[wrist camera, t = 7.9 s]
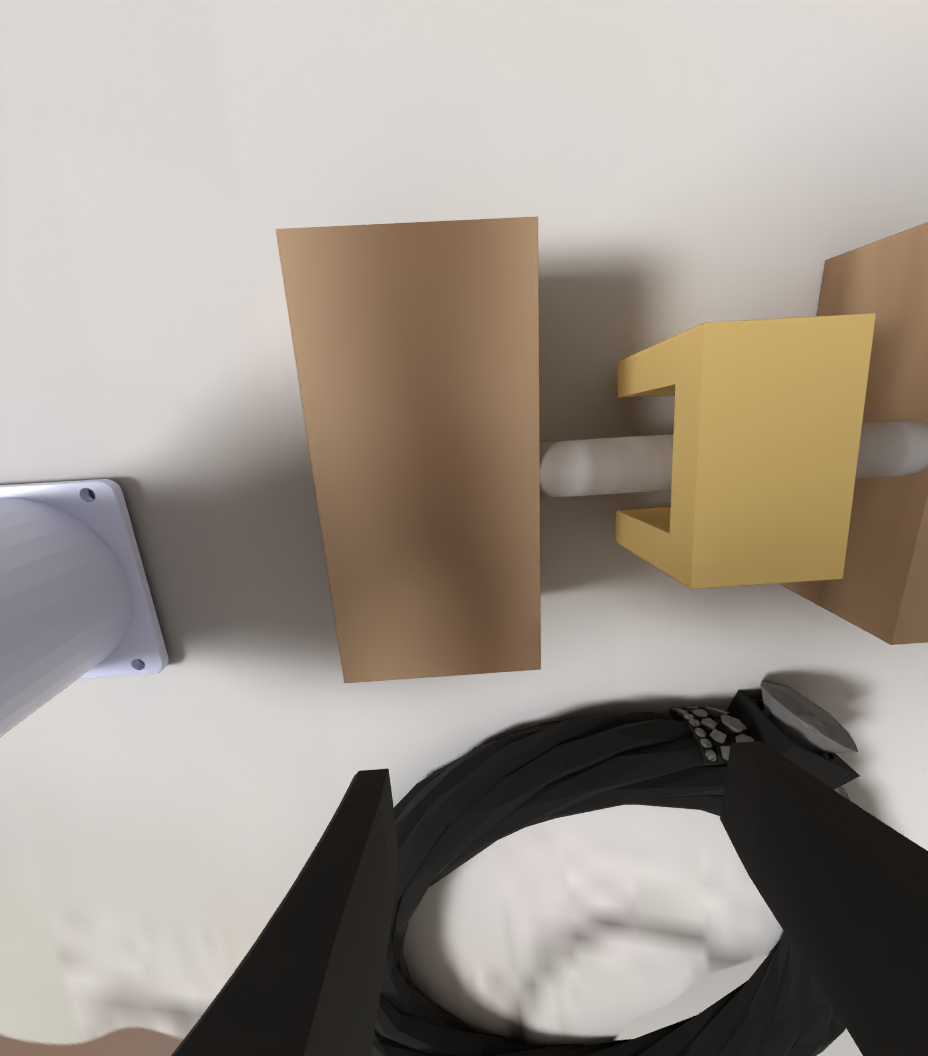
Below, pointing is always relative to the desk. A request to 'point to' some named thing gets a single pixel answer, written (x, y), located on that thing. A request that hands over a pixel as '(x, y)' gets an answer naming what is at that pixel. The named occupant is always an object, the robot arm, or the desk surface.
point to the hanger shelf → (536, 441)
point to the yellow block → (754, 449)
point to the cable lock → (591, 784)
